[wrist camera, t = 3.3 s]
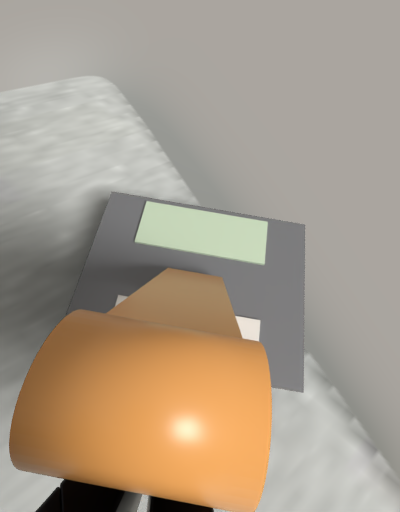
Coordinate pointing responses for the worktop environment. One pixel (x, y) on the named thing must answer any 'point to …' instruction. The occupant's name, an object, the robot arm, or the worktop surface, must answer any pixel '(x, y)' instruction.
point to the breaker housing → (206, 269)
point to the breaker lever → (151, 398)
